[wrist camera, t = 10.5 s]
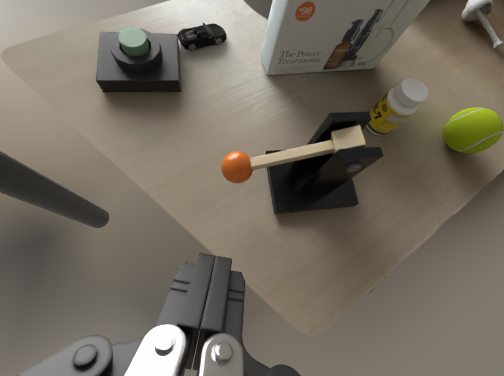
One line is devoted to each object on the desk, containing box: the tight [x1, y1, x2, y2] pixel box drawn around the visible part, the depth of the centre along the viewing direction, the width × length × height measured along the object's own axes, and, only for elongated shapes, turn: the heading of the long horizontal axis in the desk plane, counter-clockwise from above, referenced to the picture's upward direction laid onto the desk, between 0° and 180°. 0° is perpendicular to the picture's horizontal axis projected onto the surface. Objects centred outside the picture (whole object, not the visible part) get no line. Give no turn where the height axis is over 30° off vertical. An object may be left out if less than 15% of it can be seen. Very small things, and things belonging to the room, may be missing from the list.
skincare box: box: [261, 0, 430, 75], centre depth 36 cm, size 21×5×16 cm, turn 102°
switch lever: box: [221, 125, 366, 183], centre depth 27 cm, size 15×4×4 cm, turn 97°
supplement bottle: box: [366, 78, 428, 136], centre depth 37 cm, size 5×5×8 cm
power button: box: [118, 27, 150, 57], centre depth 34 cm, size 4×4×2 cm
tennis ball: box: [443, 107, 503, 153], centre depth 39 cm, size 7×7×7 cm
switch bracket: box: [265, 112, 383, 214], centre depth 30 cm, size 12×9×13 cm
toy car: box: [177, 23, 226, 51], centre depth 40 cm, size 8×4×2 cm, turn 116°
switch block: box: [96, 29, 181, 92], centre depth 36 cm, size 11×9×4 cm
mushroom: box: [462, 0, 504, 48], centre depth 52 cm, size 7×5×12 cm
